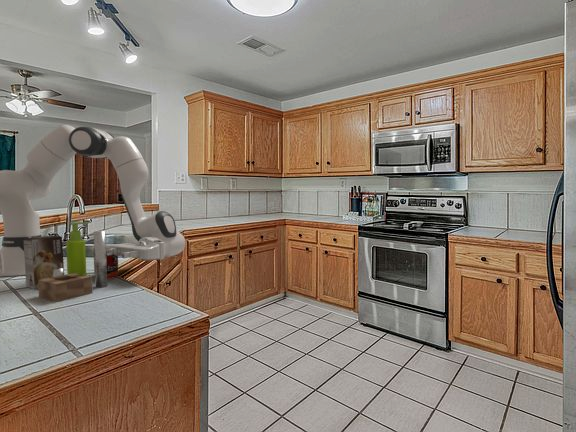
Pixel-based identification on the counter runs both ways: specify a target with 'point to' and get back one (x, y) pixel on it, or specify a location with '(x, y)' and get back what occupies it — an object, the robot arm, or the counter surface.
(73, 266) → the soap dispenser
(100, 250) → the long steel dowel
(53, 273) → the short steel dowel
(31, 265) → the coffee box
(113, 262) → the canned food
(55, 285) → the walnut socket block
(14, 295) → the counter surface
